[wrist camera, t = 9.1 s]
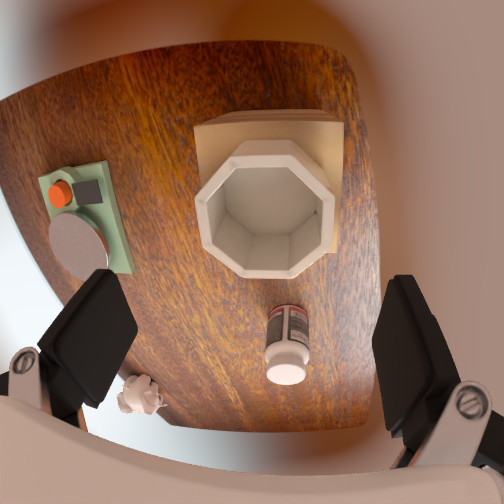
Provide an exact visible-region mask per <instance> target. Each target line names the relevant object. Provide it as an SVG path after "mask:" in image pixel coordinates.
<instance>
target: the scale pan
mask: <svg viewBox="0 0 504 504" xmlns="http://www.w3.org/2000/svg"><path fill="white" fill-rule="evenodd" d="M71 185H72V189H73V193H74V196H75V200H76V203H77V206H81V205H90V204H100V203H103V200H102V196H101V192H100V188H99V184H98V180H97V179H95V180H89V181H83V182H78V183H72V184H71ZM49 240H50V245H51V248H52V250H53V252H54V255H55V256H56V258H57V260H58V261H59V262H60V264H61V265H62V266H63V267H64V268H65V269H66V270H67V271H68V272H69V273H70V274H71V275H73V276H74V277H76V278H78V279H80V280H83V281H86V280H87V279H88V278H89V277H90V276H91V274H92V273H93V272H94V271H95V270H96V269H109V268H110V265H111V253H110V249H109V245H108V243H107V240H106V238H105V236H104V235H103V233H102V232H101V230H100V229H99V228H98V226H97V225H96V224H95V223H94V222H93V221H92V220H91V219H89V218H88V217H87V216H85V215H84V214H82V213H80V212H77V211H72V210H67V211H63V212H61V213H60V214H58V215H57V216H56V217H54V219H53V220H52V222H51V224H50V227H49Z"/></svg>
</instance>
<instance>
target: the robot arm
mask: <svg viewBox="0 0 504 504" xmlns="http://www.w3.org/2000/svg"><path fill="white" fill-rule="evenodd" d="M137 332H138V326H137V324H136V321H135V319H134V317H133V314H132V312H131V310H130V307H129V305H128V303H127V300H126V298H125V295H124V293H123V290H122V288H121V285H120V282H119V280H118V277H117V275H116V274H114V272H113V271H112V270H111V269H96V270H95V271H94V272H93V273H92V274H91V276H90V277H89V278H88V279H87V280H86V281H85V283H84V284H83V285H82V286H81V287H80V289H79V290H78V291H77V292H76V293H75V295H74V296H73V297H72V298H71V300H70V301H69V302H68V303H67V305H66V306H65V307H64V308H63V310H62V311H61V312H60V313H59V315H58V316H57V318H56V319H55V320H54V321H53V323H52V324H51V325H50V327H49V328H48V329H47V331H46V332H45V333H44V335H43V336H42V338H41V339H40V340H39V342H38V343H37V345H38V347H39V348H40V349H41V352H40V353H38V351H37V350H36V349H35V348H33V347H25V348H23V349H21V350H20V351H18V352H17V353H16V354H15V355H14V357H13V358H12V360H11V362H10V367H9V371H8V372H5V373H3V374H1V375H0V504H504V417H503V416H501V415H499V414H498V413H496V412H495V411H493V410H491V409H492V399H491V396H490V394H489V392H488V391H487V389H486V388H485V386H483V385H482V384H480V383H479V382H476V381H469V380H467V381H464V382H461V380H460V377H459V375H458V372H457V369H456V366H455V363H454V361H453V358H452V355H451V353H450V350H449V348H448V345H447V343H446V340H445V338H444V336H443V333H442V331H441V329H440V326H439V324H438V322H437V320H436V318H435V316H434V315H433V314H431V311H430V309H429V307H428V305H427V303H426V301H425V299H424V296H423V294H422V293H421V291H420V288H419V286H418V284H417V282H416V280H415V278H414V277H413V276H412V275H395V276H394V279H391V280H389V282H388V285H387V289H386V293H385V296H384V300H383V304H382V307H381V311H380V314H379V317H378V321H377V324H376V327H375V330H374V333H373V337H372V349H373V353H374V358H375V364H376V369H377V374H378V379H379V386H380V391H381V398H382V404H383V411H384V418H385V426H386V429H387V431H391V435H392V438H398V437H403V443H404V446H405V447H404V448H403V450H402V451H401V453H400V454H399V456H398V457H397V459H396V460H395V461H394V463H393V464H392V466H391V467H390V468H389V470H383V471H376V472H367V473H357V474H344V475H325V476H323V475H322V476H285V475H282V476H281V475H266V474H253V473H243V472H235V471H227V470H220V469H214V468H208V467H202V466H197V465H192V464H187V463H182V462H178V461H174V460H170V459H166V458H161V457H158V456H155V455H151V454H147V453H144V452H141V451H137V450H134V449H131V448H128V447H125V446H122V445H119V444H116V443H114V442H111V441H108V440H106V439H103V438H100V437H98V436H95V435H93V434H91V433H88V430H87V426H86V422H85V418H84V414H83V410H82V404H83V402H84V403H85V404H86V405H88V406H90V407H93V408H96V409H97V408H98V406H99V404H100V403H101V402H103V400H104V399H105V397H106V395H107V392H108V390H109V388H110V386H111V384H112V382H113V380H114V378H115V376H116V374H117V372H118V370H119V368H120V366H121V364H122V362H123V360H124V358H125V356H126V354H127V352H128V350H129V349H130V347H131V345H132V343H133V341H134V339H135V337H136V335H137Z"/></svg>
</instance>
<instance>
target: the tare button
mask: <svg viewBox="0 0 504 504" xmlns="http://www.w3.org/2000/svg"><path fill="white" fill-rule="evenodd" d="M72 196H73V193H72V190H71V187H70V185H69V184H68V183H67V182H66V181H63V180H61V181H59V182H57V183H55V184H54V185H52V186H51V187H50V188H49V191H48V197H49V200H50V202H51V204H52V205H53V206H54V207H56V208H62V207H63V206H65V205H66V204H67V203H69V202H70V201H71V200H72Z"/></svg>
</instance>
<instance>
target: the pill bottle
mask: <svg viewBox="0 0 504 504" xmlns="http://www.w3.org/2000/svg"><path fill="white" fill-rule="evenodd" d="M264 356H265V360H266V362H267V363H268V365H267V377H268V378H269V380H271V381H272V382H274V383H277V384H281V385H292V384H296V383H299V382H301V381H302V380H303V379H304V378H305V375H306V366H305V364H306V363H307V362H308V360H309V320H308V316H307V314H306V312H305V311H304V310H303V309H301V308H300V307H297V306H294V305H283V306H279V307H277V308H275V309H274V310H273V311H272V312H271V313H270V315H269V318H268V326H267V335H266V344H265V354H264Z"/></svg>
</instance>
